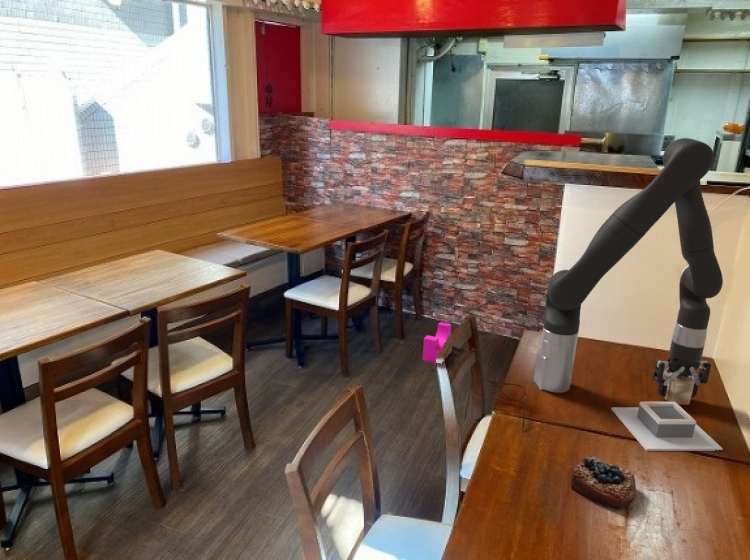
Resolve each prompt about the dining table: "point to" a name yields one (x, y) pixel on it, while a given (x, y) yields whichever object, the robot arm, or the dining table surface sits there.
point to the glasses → (492, 391)
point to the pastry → (604, 482)
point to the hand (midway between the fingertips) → (676, 395)
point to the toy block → (436, 342)
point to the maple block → (680, 390)
